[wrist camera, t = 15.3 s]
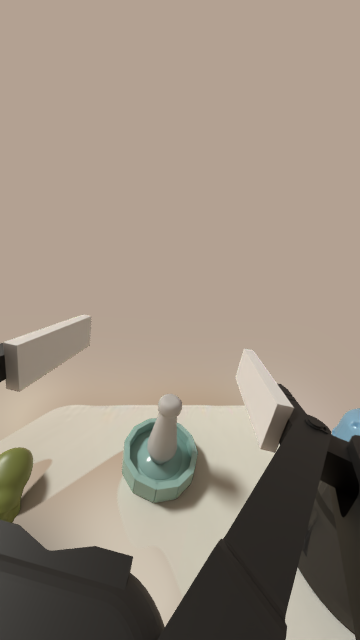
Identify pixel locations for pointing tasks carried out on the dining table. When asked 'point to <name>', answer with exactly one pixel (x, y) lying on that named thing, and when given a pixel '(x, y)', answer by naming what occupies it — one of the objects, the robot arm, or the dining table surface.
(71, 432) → the dining table surface
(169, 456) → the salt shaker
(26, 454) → the pear
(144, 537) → the dining table surface
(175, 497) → the dish
